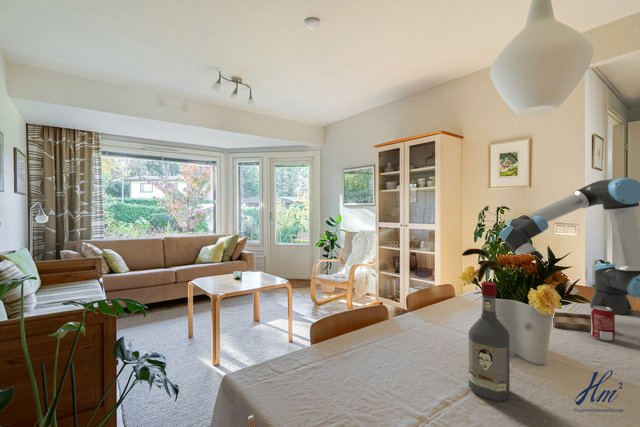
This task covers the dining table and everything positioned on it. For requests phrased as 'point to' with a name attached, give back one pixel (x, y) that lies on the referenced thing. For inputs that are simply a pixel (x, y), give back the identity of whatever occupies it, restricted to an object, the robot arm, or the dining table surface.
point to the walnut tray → (572, 321)
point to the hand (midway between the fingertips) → (569, 295)
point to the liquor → (489, 350)
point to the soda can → (602, 323)
